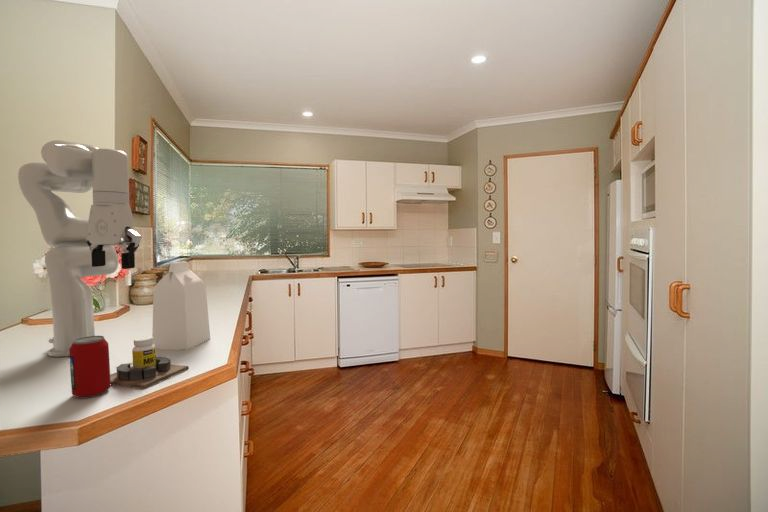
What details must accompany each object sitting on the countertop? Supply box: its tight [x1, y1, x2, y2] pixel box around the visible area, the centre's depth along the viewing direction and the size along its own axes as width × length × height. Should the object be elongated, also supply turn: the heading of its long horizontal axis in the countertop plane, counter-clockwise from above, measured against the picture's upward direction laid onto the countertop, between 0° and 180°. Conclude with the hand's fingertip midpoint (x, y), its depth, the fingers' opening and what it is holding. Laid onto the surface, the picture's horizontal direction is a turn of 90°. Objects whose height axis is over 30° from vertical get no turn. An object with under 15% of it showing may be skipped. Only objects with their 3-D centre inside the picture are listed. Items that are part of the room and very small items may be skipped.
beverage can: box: [69, 335, 111, 399], centre depth 83 cm, size 7×7×12 cm
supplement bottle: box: [131, 335, 157, 369], centre depth 93 cm, size 5×5×8 cm
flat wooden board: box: [110, 355, 190, 389], centre depth 93 cm, size 14×13×3 cm
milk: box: [151, 261, 211, 350], centre depth 121 cm, size 12×12×26 cm
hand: (113, 267), depth 98 cm, fingers open, 9 cm apart
